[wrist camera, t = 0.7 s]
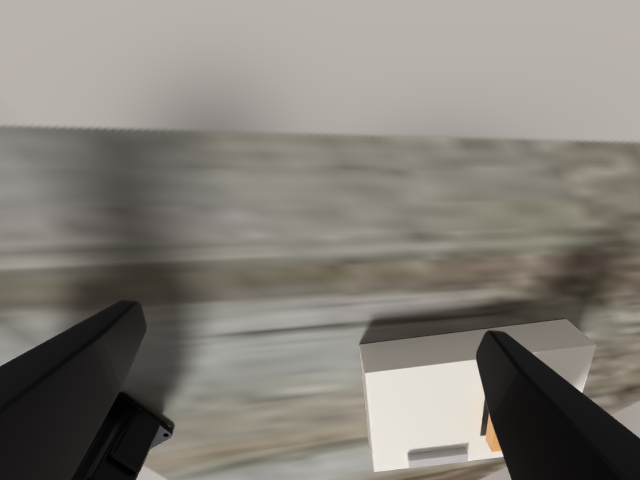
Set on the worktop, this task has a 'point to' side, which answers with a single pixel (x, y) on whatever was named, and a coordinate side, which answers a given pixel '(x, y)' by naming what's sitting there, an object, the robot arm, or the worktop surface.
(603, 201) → the worktop surface
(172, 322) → the worktop surface
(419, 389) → the socket block
